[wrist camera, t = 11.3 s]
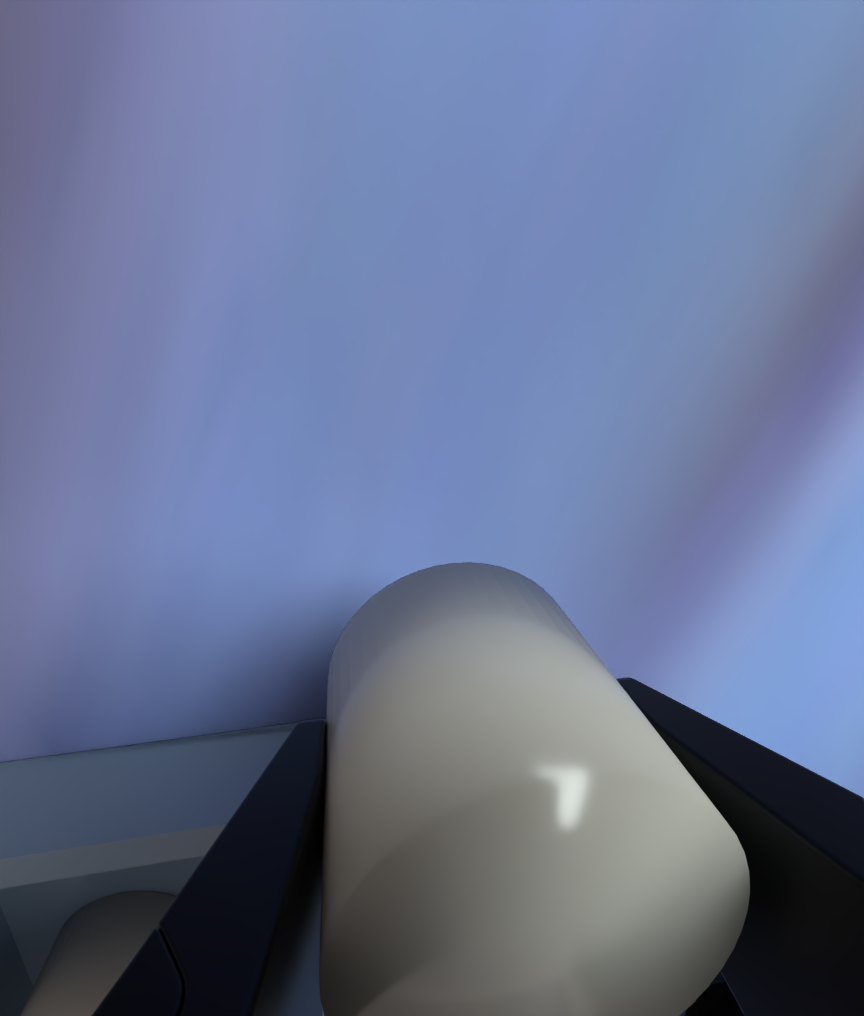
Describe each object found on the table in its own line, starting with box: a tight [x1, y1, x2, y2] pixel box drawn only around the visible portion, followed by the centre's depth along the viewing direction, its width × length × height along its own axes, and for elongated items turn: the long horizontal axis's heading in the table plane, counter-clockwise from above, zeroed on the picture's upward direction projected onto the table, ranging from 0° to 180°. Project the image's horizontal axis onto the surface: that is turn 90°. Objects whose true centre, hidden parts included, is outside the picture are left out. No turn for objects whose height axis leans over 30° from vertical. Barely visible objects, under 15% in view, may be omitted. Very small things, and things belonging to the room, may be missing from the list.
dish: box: [0, 719, 327, 1016], centre depth 16 cm, size 14×14×3 cm
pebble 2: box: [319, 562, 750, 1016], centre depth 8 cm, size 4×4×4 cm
